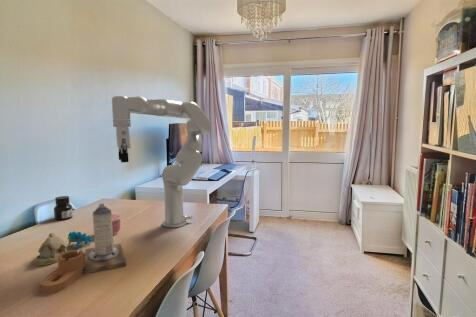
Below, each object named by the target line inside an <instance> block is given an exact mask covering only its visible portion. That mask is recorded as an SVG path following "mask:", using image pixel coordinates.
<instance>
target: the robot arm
mask: <svg viewBox="0 0 476 317" xmlns="http://www.w3.org/2000/svg"><path fill="white" fill-rule="evenodd" d="M111 109H112V125H113V126H112V127H113V128H115V133H116V136H115V137H116V145H117V148H118V152H117V153H118V160H120V163H129V150H128V149H131V137H130V128H131V127H132V126H131V124H132V121H131V114H136V115H137V114H138V115H146V116H147V115H149V116H156V117H165V118H175V119H188V120H187V121H186V125H185V126H186V127H185V128H186V132H187V134H186V135H187V136H186V137H187V138H186V141H185V142H184V144H183V145H182V146H181V148H180V149H179V151H178V152H177V154H176V156H175V162H176V164H178V165H175V164H169V165H166V166H165V167H164V168H163V170H162V172H161V173H162V174H161V178H162V183H163V188H164V192H163V193H164V217H165V218H164V220H163V221H162V226H163V227H165V228H179V227H183V226H185V225H186V224H187V220H192V219H193V215H189V214H184V190H183V187H184V186H186V185H188V184H189V183H190V182H191V181H192V179H193V178H194V176H196V174H197V172H198V170H199V169H200V167H201V165H202V162H203V155H202V153H201V152H200V151H199V150H200V149H201V147H202V146H203V145H202V142H203V141H202V135H207V134H209V133H210V132H212V127H213V124H212V122H211V120H210V118H209V117H208V116H207V114H206V113H205V111H203V109H202V108H201V107H200V105H198V104H197V103H196V102H194V101H179V100H171V99H166V98H165V99H164V98H163V99H159V98H158V99H146V98H145V97H143V96H137V95H136V96H125V95H123V96H122V95H116V96H115V95H114V96H113V97H112V98H111Z"/></svg>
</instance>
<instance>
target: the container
mask: <svg viewBox="0 0 476 317" xmlns="http://www.w3.org/2000/svg"><path fill="white" fill-rule="evenodd" d="M121 218H122V216H121V215H119V214H116V213H115V214H112V229H113V236H115V235H118V233H119V231H120V230H121Z"/></svg>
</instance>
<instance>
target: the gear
mask: <svg viewBox="0 0 476 317" xmlns="http://www.w3.org/2000/svg"><path fill="white" fill-rule="evenodd" d="M67 240H68V244H67V248H69V247H70V246H71V244H72V243H76V244H75V246H74V248H75V249H78V247H79V245H80V243H86V244H87V243H88V242H89V243H91V242H92V241H93V237H91V235H89V234H88V235H87V233H85V232H83V233H82V232H81V231H77V232H76V231H72V232H71V231H69V234H67Z"/></svg>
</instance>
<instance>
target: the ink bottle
mask: <svg viewBox="0 0 476 317" xmlns="http://www.w3.org/2000/svg"><path fill="white" fill-rule="evenodd" d="M54 201H55V206H54V208H53V214H54V220H56V221H66V220H69V219H71V218H73V206H72V204H70V196H68V195H61V196H57V197H55V200H54Z"/></svg>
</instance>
